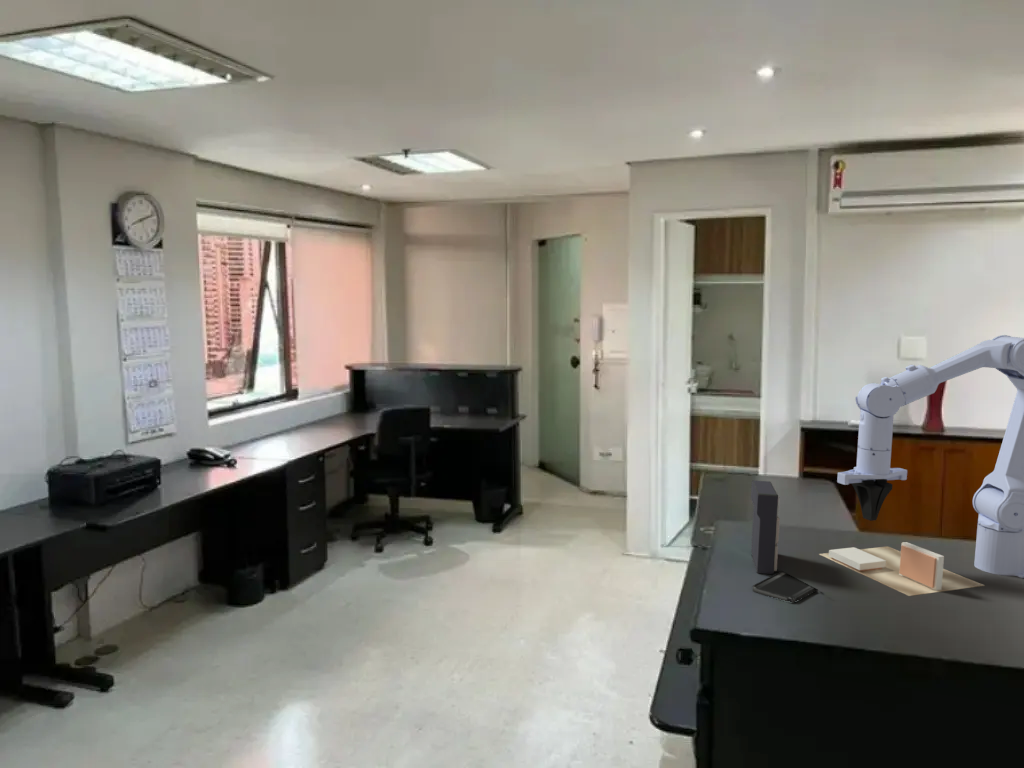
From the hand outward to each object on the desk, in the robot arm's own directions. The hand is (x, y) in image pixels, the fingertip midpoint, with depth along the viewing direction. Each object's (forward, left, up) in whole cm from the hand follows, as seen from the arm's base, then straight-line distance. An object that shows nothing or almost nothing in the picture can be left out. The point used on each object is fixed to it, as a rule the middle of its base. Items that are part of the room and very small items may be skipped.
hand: (869, 519), depth 146 cm
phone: (+21, +4, -10) cm, 23 cm away
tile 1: (-1, 0, -7) cm, 7 cm away
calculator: (+19, -7, -10) cm, 22 cm away
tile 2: (-1, +11, -8) cm, 14 cm away
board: (-3, +4, -9) cm, 11 cm away
